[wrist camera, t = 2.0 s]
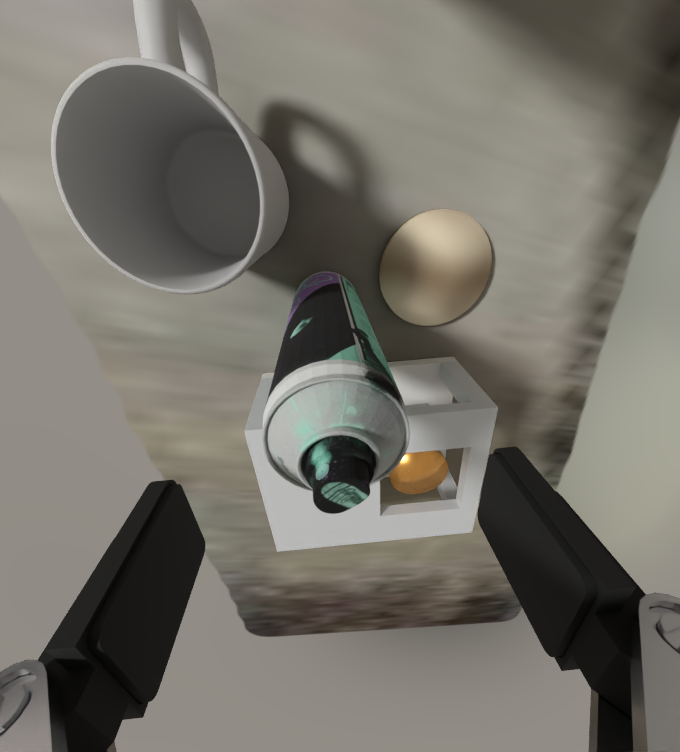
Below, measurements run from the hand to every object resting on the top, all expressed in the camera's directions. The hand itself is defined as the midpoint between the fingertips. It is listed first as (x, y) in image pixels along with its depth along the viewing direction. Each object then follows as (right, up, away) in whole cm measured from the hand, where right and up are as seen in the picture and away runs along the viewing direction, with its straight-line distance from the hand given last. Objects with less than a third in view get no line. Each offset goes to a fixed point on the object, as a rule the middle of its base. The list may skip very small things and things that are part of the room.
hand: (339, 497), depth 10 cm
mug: (-8, +18, +12) cm, 23 cm away
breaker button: (+6, -3, +20) cm, 21 cm away
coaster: (+8, +12, +16) cm, 22 cm away
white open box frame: (+2, -1, +23) cm, 23 cm away
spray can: (-1, +10, +17) cm, 20 cm away
